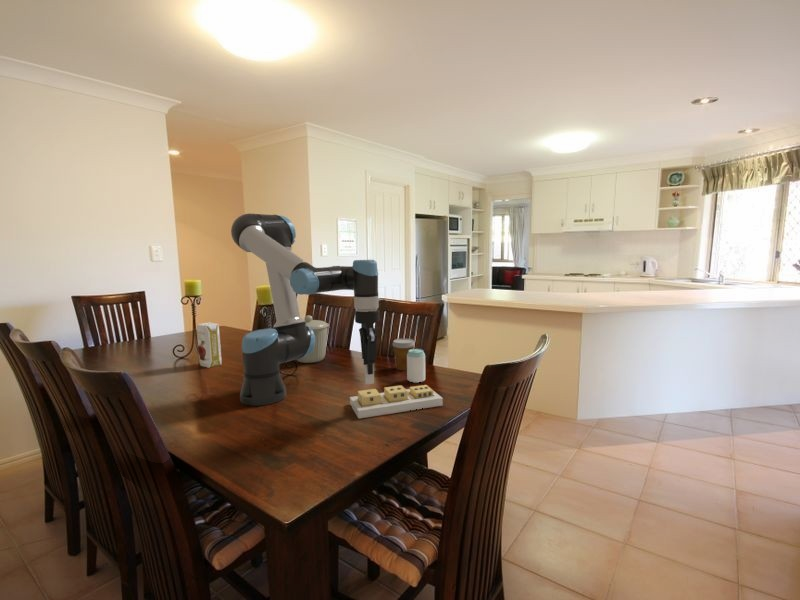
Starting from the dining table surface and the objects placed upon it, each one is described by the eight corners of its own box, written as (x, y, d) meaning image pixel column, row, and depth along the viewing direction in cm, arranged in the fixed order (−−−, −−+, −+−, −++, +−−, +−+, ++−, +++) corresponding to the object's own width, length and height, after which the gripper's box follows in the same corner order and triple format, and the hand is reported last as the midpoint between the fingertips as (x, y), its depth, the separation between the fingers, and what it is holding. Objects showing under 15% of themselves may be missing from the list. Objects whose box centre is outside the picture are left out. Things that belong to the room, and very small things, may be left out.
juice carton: (213, 361, 186) (210, 321, 184) (224, 364, 181) (221, 323, 179) (197, 365, 180) (194, 324, 178) (207, 368, 175) (204, 326, 173)
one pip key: (362, 408, 125) (362, 397, 124) (358, 401, 130) (357, 390, 130) (381, 405, 127) (380, 394, 126) (375, 398, 132) (375, 388, 132)
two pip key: (390, 404, 128) (390, 393, 127) (384, 397, 133) (384, 387, 133) (407, 401, 129) (407, 390, 129) (401, 395, 135) (401, 384, 135)
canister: (293, 356, 194) (291, 313, 191) (331, 354, 196) (329, 311, 193) (287, 366, 176) (284, 319, 174) (328, 365, 178) (327, 318, 176)
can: (424, 384, 151) (423, 353, 150) (405, 383, 153) (405, 352, 151) (426, 378, 158) (426, 348, 156) (409, 377, 159) (408, 347, 158)
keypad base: (358, 418, 122) (358, 410, 121) (350, 404, 133) (349, 397, 132) (442, 405, 131) (442, 398, 130) (428, 393, 142) (428, 386, 142)
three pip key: (416, 403, 131) (416, 392, 130) (409, 396, 136) (409, 386, 136) (433, 400, 132) (433, 390, 132) (426, 394, 138) (426, 384, 138)
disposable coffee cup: (419, 367, 173) (418, 339, 171) (407, 372, 165) (407, 344, 163) (400, 363, 178) (400, 337, 177) (388, 369, 170) (387, 341, 169)
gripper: (384, 311, 120) (387, 387, 123) (372, 306, 132) (375, 375, 135) (359, 313, 117) (363, 391, 120) (350, 307, 130) (353, 378, 132)
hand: (369, 383), depth 127 cm, fingers closed
